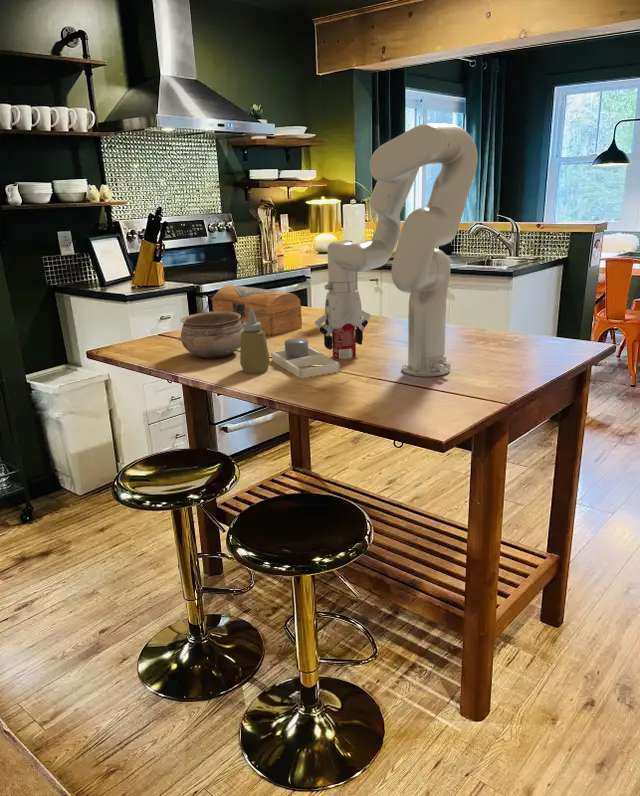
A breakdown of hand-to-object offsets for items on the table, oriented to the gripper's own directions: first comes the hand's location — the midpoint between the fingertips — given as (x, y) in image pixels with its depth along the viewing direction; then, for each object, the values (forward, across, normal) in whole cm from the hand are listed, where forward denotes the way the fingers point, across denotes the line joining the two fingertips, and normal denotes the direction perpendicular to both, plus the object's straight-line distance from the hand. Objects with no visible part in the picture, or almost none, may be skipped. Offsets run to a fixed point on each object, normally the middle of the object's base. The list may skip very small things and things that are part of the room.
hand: (343, 346), depth 183 cm
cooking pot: (+4, -32, +23) cm, 40 cm away
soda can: (+4, 0, 0) cm, 4 cm away
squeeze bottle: (+4, -27, 0) cm, 28 cm away
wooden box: (+4, -8, +52) cm, 53 cm away
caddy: (+4, -14, -3) cm, 15 cm away
